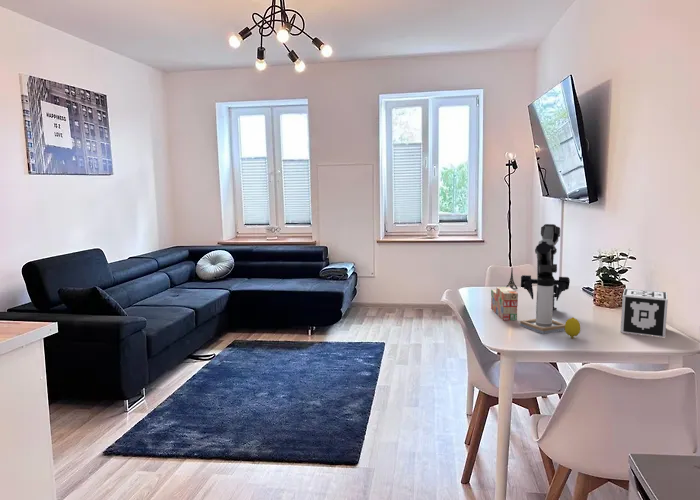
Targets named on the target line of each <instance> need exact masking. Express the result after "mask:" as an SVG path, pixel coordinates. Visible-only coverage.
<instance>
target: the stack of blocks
mask: <svg viewBox="0 0 700 500" xmlns="http://www.w3.org/2000/svg"><path fill="white" fill-rule="evenodd" d="M518 298H519V293H518V292H517V291H516V289H514V290H513V289H512V288H510V287H502V286H499V287H498V286H497V287H496V289H491V290H490V300H491V301H490V303H491V304H490V309H491V310H492V311H493V312H494V313H495V314H496V315H497V316H499V319H501V320H502V321H517V320H518V306H519V305H518V303H519V299H518Z"/></svg>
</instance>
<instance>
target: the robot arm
mask: <svg viewBox="0 0 700 500" xmlns="http://www.w3.org/2000/svg"><path fill="white" fill-rule="evenodd" d="M540 236H541V238H542V239H541V240H540V241H538V244H537V245H536V246H535V249H534V252H535V254H536V259H537V260H536V261H537V262H536V263H537V264H536V265H537V266H536V269H537V270H536V271H537V273H536V275H537V276H536V277H537V278H532V275H530V274H528V275H525V274H524V275H523V274H522V275H521V276H520V288H521V287H522V288H523V289H524V290H526V291H527V292H528V294H529V295H530V298H531V299H532V300H534V289H533V285H534V284H535V285H537V283H538V282H537V279H538V277H541V276H546V275H547V276H550V277H553V278H554V283H553V284H554V286H553V287H554V288H553V310H557V307H555V300H556V302H558V301H559V298H560V295H561V294H562V292H565V291H568V290H569V288H570V281H571V280H570V278H569V277H568V276H558V279H555V277H554V276H553V275H554V273H555V274H556V273H557V272H558V264H557V263H554V259H555V258H554V257H555V255H556V253H557V251H558V250H557V248H556V244H558V242H559V239H560V237H561V227H560V226H557V225H556V224H553V223H545V224H543V225H542V226H541V228H540Z"/></svg>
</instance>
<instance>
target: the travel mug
mask: <svg viewBox="0 0 700 500" xmlns="http://www.w3.org/2000/svg"><path fill="white" fill-rule="evenodd" d="M553 277H554V276H553ZM553 277H550V276H547V275H546V276H541V277H538V279H537V278H536V279H537V282H538V283H537V284H536V285H537V286H536V305H535V307H536V308H535V319H536V325H538V326H543V327H549V326H552V320H553V310H554V309H553V288H554V287H553V286H554V284H553V283H554V279H555V277H554V278H553Z"/></svg>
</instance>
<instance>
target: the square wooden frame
mask: <svg viewBox="0 0 700 500" xmlns="http://www.w3.org/2000/svg"><path fill="white" fill-rule="evenodd" d="M519 326H520V327H523V328H526V329H529V330H532V331H534V332H537V333H538V334H539V333H540V334H542V335H545V334H549V333H555V332H557V333H558V332H563V331H564V332H565V323H563V322H560V321H556V320H554V319H552V326H549V327H543V326H538V325H536V318H530V319H523V320H520V321H519Z"/></svg>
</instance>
